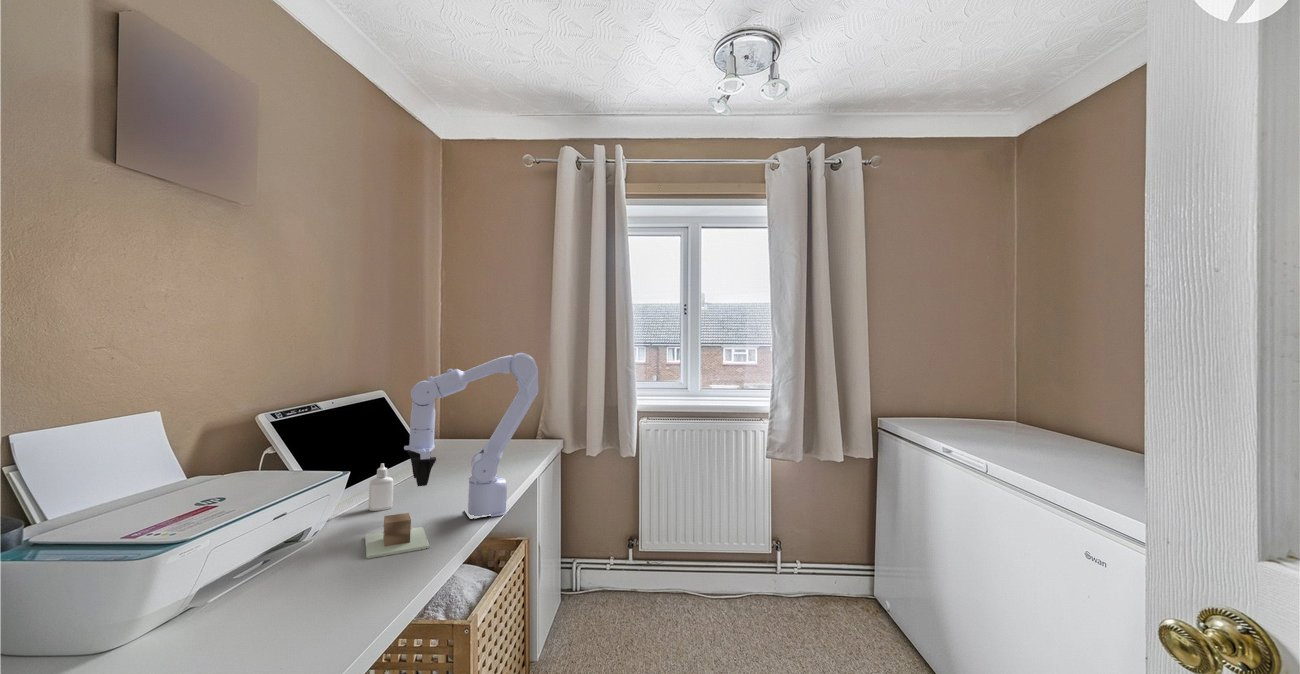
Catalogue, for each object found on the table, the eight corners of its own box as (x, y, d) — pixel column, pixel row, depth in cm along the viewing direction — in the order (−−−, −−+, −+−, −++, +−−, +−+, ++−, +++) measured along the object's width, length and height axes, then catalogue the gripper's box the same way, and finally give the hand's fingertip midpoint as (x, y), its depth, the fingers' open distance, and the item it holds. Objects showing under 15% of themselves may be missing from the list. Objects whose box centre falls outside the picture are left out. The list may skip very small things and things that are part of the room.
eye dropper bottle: (387, 511, 130) (389, 465, 130) (365, 511, 129) (367, 465, 129) (395, 506, 134) (396, 461, 134) (373, 505, 134) (375, 461, 134)
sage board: (422, 529, 119) (422, 526, 119) (429, 548, 108) (429, 545, 108) (365, 538, 112) (365, 535, 112) (366, 558, 102) (366, 555, 102)
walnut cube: (407, 534, 114) (408, 512, 114) (410, 542, 110) (410, 519, 110) (383, 538, 111) (384, 516, 111) (384, 546, 107) (385, 523, 107)
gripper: (402, 424, 130) (400, 476, 130) (408, 434, 118) (405, 491, 117) (431, 423, 134) (429, 473, 133) (439, 432, 121) (437, 487, 121)
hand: (420, 481), depth 126 cm, fingers open, 7 cm apart
